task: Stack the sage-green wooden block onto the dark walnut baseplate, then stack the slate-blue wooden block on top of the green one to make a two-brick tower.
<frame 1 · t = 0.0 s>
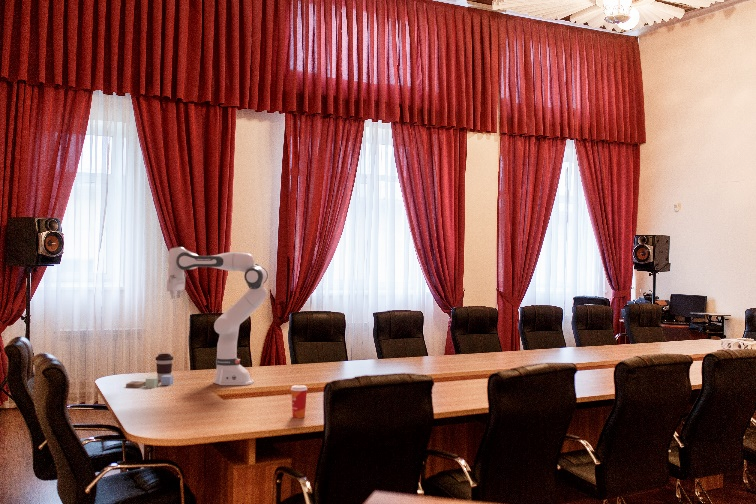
hand: (175, 298, 403), 48 cm above the table, tool pointing down, fingers open, 8 cm apart
coffee cup: (164, 380, 406), on the table
blue block: (167, 384, 392), on the table
baseplate: (136, 386, 386), on the table
paper cup: (298, 417, 319), on the table
green block: (151, 386, 385), on the table
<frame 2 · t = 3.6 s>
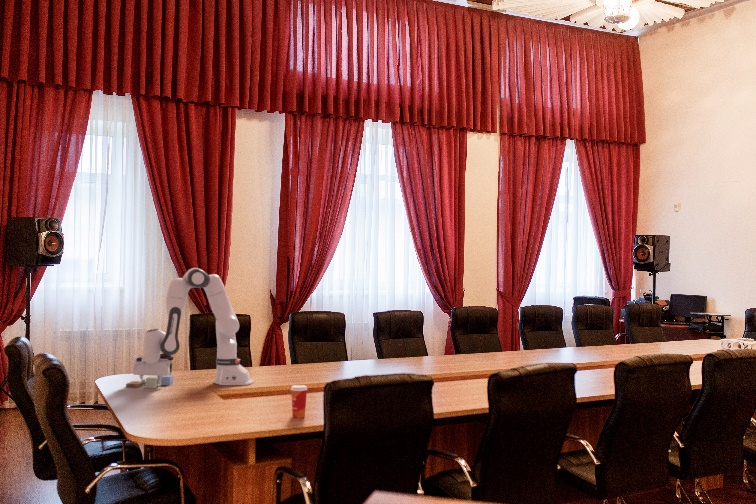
hand: (151, 383, 385), 2 cm above the table, tool pointing down, fingers open, 7 cm apart
nothing on the table moved.
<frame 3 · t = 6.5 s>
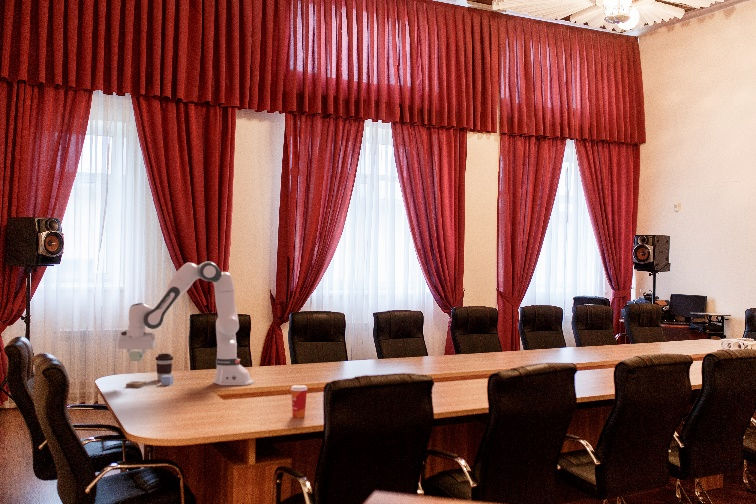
hand: (136, 357, 386), 16 cm above the table, tool pointing down, fingers closed on green block, 5 cm apart
green block: (136, 360, 386), point 14 cm above the table, touching gripper
everything else where it was.
when the fingers open (5 cm above the table, at t = 8.9 s): green block stays where it is, resting on baseplate.
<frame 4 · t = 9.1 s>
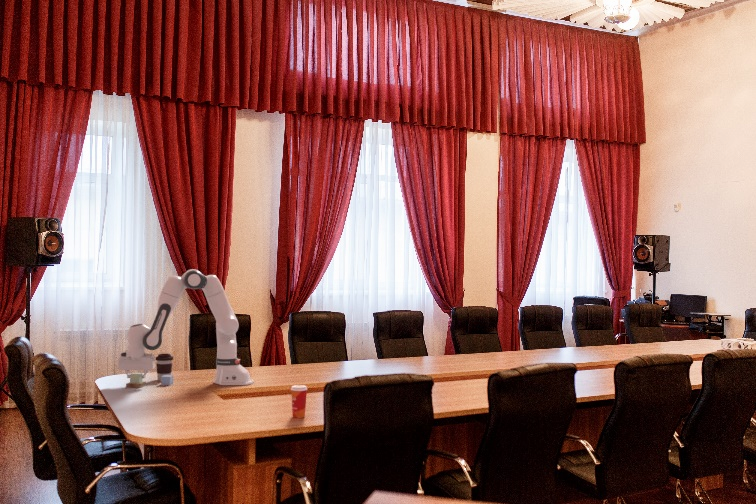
hand: (136, 378, 386), 5 cm above the table, tool pointing down, fingers open, 7 cm apart
green block: (136, 382, 386), point 2 cm above the table, touching baseplate
everything else where it was.
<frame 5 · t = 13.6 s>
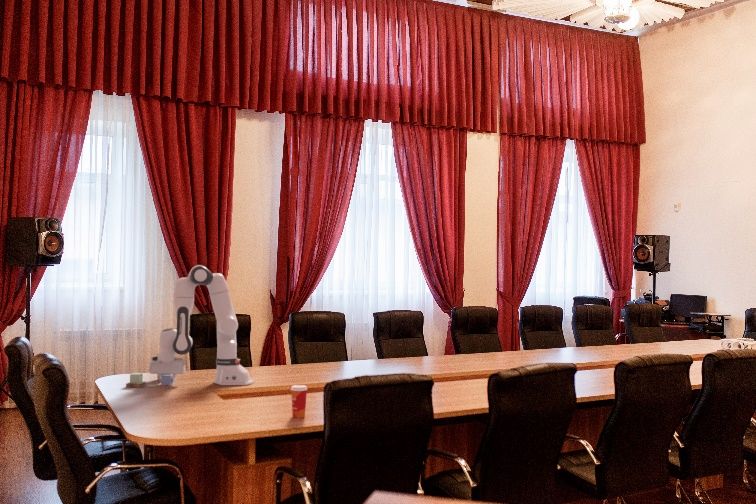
hand: (167, 381, 392), 2 cm above the table, tool pointing down, fingers closed on blue block, 5 cm apart
blue block: (167, 384, 392), on the table, touching gripper
everything else where it was.
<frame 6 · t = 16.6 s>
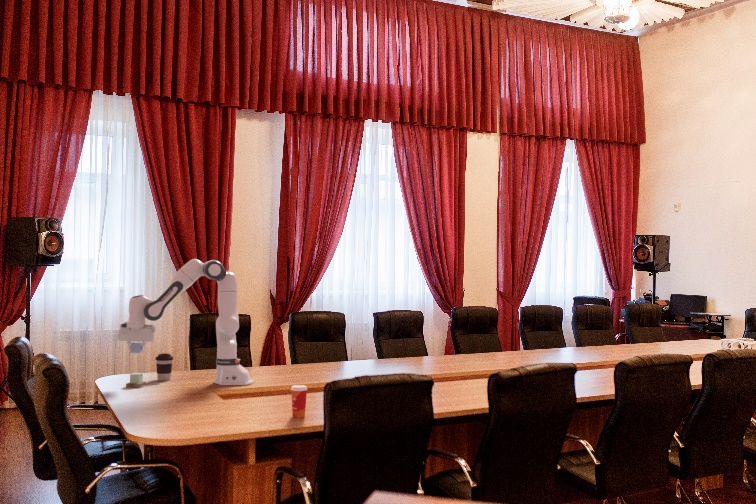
hand: (136, 349, 386), 21 cm above the table, tool pointing down, fingers closed on blue block, 5 cm apart
blue block: (136, 352, 386), point 19 cm above the table, touching gripper
everything else where it was.
when the fingers open (10 cm above the table, at t = 19.4 s): blue block stays where it is, resting on green block.
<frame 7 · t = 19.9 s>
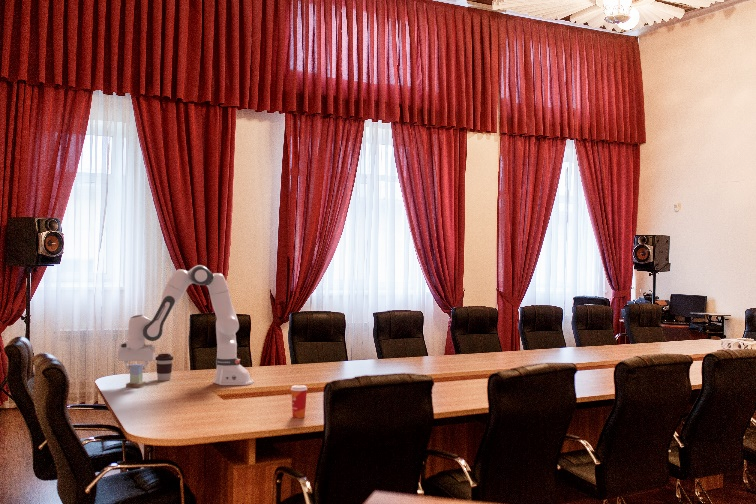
hand: (136, 369, 386), 10 cm above the table, tool pointing down, fingers open, 8 cm apart
blue block: (136, 373, 386), point 7 cm above the table, touching green block
green block: (136, 382, 386), point 2 cm above the table, touching baseplate, blue block
everything else where it was.
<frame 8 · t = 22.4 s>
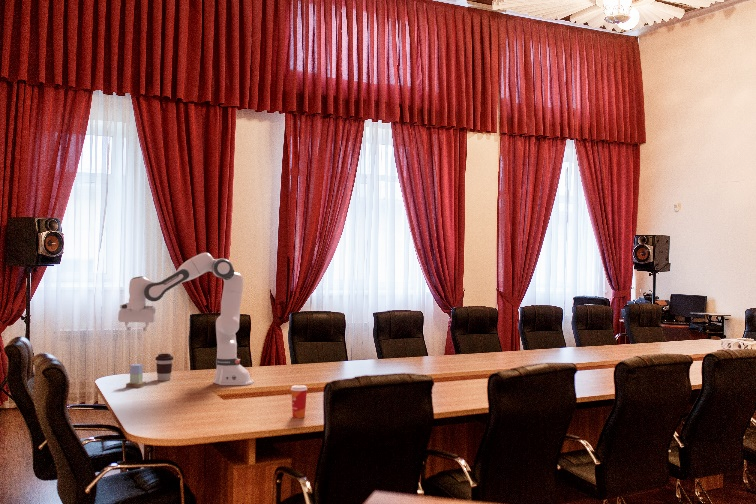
hand: (136, 330, 386), 31 cm above the table, tool pointing down, fingers open, 8 cm apart
nothing on the table moved.
at the end: green block 0.1 cm off-centre on the baseplate, point 2.0 cm above the baseplate's base; blue block 0.1 cm off-centre on the baseplate, point 7.0 cm above the baseplate's base; blue block tilted 0° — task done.
